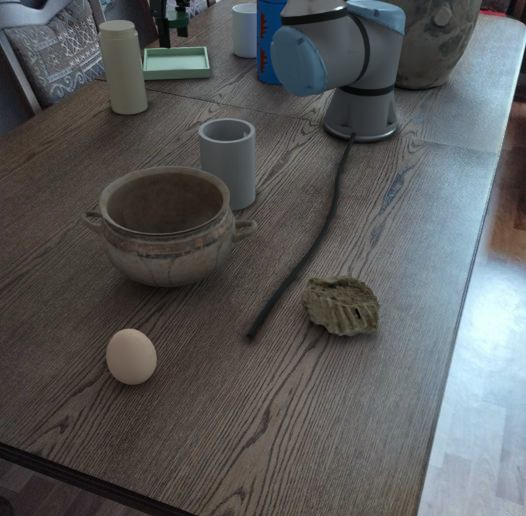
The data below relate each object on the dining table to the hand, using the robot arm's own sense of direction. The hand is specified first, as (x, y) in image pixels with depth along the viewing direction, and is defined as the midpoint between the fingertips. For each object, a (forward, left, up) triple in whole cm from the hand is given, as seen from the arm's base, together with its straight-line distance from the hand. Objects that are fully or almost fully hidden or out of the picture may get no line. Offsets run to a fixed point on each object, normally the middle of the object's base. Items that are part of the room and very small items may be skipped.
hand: (174, 41), depth 137 cm
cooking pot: (-85, +2, -6) cm, 85 cm away
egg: (-106, +7, -6) cm, 107 cm away
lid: (0, 0, +6) cm, 6 cm away
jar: (-24, +11, -6) cm, 27 cm away
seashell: (-99, -20, -6) cm, 101 cm away
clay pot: (-15, -58, -6) cm, 60 cm away
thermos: (-9, -25, -6) cm, 27 cm away
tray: (0, 0, -6) cm, 6 cm away
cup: (-65, -8, -6) cm, 66 cm away
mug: (+10, -20, -6) cm, 23 cm away
